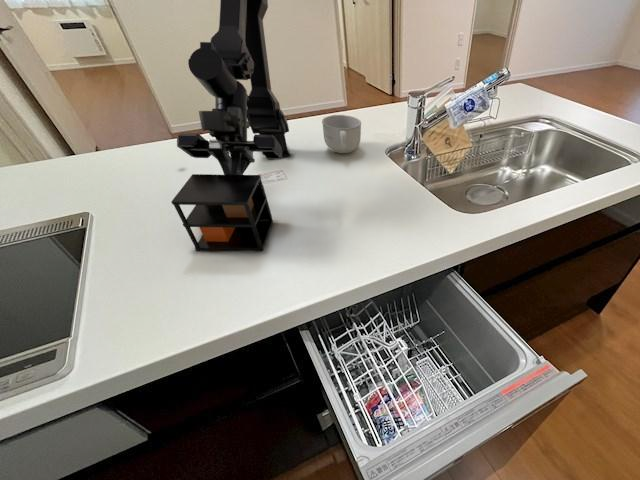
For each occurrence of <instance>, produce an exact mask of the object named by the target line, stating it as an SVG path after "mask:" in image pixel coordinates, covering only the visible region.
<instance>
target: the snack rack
mask: <svg viewBox="0 0 640 480" xmlns="http://www.w3.org/2000/svg"><path fill="white" fill-rule="evenodd" d="M268 201H269V200H268V197H267V194H266V191H265V188H264V184H263V181H262V176H261V175H260V174H243V175H224V174H207V173H206V174H204V173H203V174H201V173H200V174H199V173H198V174H197V173H195V174H193V173H192V174H191V175H190V177H189V178H188V180H187V181H186V182H185V184H183V186H182V187H181V188H180V190H179V191H178V192H177V193H176V195H175V196H174V197H173V199H172V200H171V202H170V203H171V204H172V205H173V207H174V209H175V211H176V212H177V215H178V216H179V219H180V220H181V222H182V226H183V228H185V230H186V232H187V234H188V236H189V238H190V241H191V242H192V244H193V246H194V249H195V252H263V251H264V249H265V248H266V244H267V241H268V238H269V236H270V234H271V231H272V228H273V225H274V220H273V216H272V212H271V207H270V204H269V202H268ZM188 205H189V206H193V208H192V210H191V211H190V213H189V214H188V216H187V218H186V216H185V214H184V211H183V210H182V208H181V206H188ZM192 228H199V230H200V233H201V234H202V235H201V236H200V238H199V240H197V238H196V236H195V234H194V231H193V230H192Z"/></svg>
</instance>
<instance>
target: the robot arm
mask: <svg viewBox="0 0 640 480" xmlns="http://www.w3.org/2000/svg"><path fill="white" fill-rule="evenodd" d="M219 6H220V7H219V20H218V21H219V23H218V30H217V32H216V33H215V34H214V35H212V36H211V38H210V41H199V48H197V49H195V50H194V51H193V52H192V53H191V54H190V56H189V59H187V65H188V68H189V71H190V73H191V74H192V75H193V76H194V77H195V79H196V80H197V81H198V82H199V83H200V84H201V86H202V87H203V88H204V89H205V90H206V91H207V92H208V94H210V95H211V96H212V97H214V98H215V103H214V105H215V108H211V110H198V115H199V121H200V126H201V127H200V128H201V131H203V132H205V131H208V135H209V136H210V137H212V138H215V139H205V137H203V136H202V135H201V134H200V133H197V132H196V133H195V132H180V133H179V134H178V135H177V137H176V147H177V148H179V149H180V150H181V151H183V152H184V153H185V154H187V155H188V156H190V157H191V158H194V159H209V158H210V157H211V156H212V157H213V158H215V159H216V160H217V162H218V163H219V165H220V167H221V169H222V172H223V175H244V174H245V173H246V170H247V169H248V167H249V166H250V164H252V163H253V164H254V163H255V161H256V160H255V158H254V153H256V152H257V153H260V152H261V153H262V155H263V156H264V157H265V159H266V160H282V159H283V158H285V157H290V156H291V153H290V152H289V150H288V144H287V140H286V133H289V132H290V128H289V123H288V119H287V117H286V116H285V114H284V112H283V110H282V109H281V107H280V106H281V105H280V102H279V100H278V98H277V97H276V96H275V94H274V92H273V91H272V87H271V84H272V83H271V77H270V70H269V69H270V68H269V61H268V53H267V45H266V37H265V28H264V18H265V15H266V13H267V10H268V8H269V1H268V0H220V4H219ZM249 80H250V86H251V87H250V89H251V90H250V92H249V94H248V91H247V88H246V87H245V86H244V85H243V83H241V82H240V81H249ZM248 129H251V132H252V134H253V137H252V139H253V140H248Z"/></svg>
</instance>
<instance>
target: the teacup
mask: <svg viewBox="0 0 640 480" xmlns="http://www.w3.org/2000/svg"><path fill="white" fill-rule="evenodd" d="M321 123H322V132H323V134H322V135H323V141H324V143H325V145H326V146H327V147H328V148H329V149H330V150H331V151H333V152H334V153H336V154H337V153H338V154H350V153H352V152H354V151H355V150H356V149H357V148H358V147H359V146H360V144H361V136H362V135H361V134H362V121H361V120H360V119H359V118H357V117H356V116H351V115H346V114H333V115H327V116H325V117H323V118H322V120H321Z"/></svg>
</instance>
